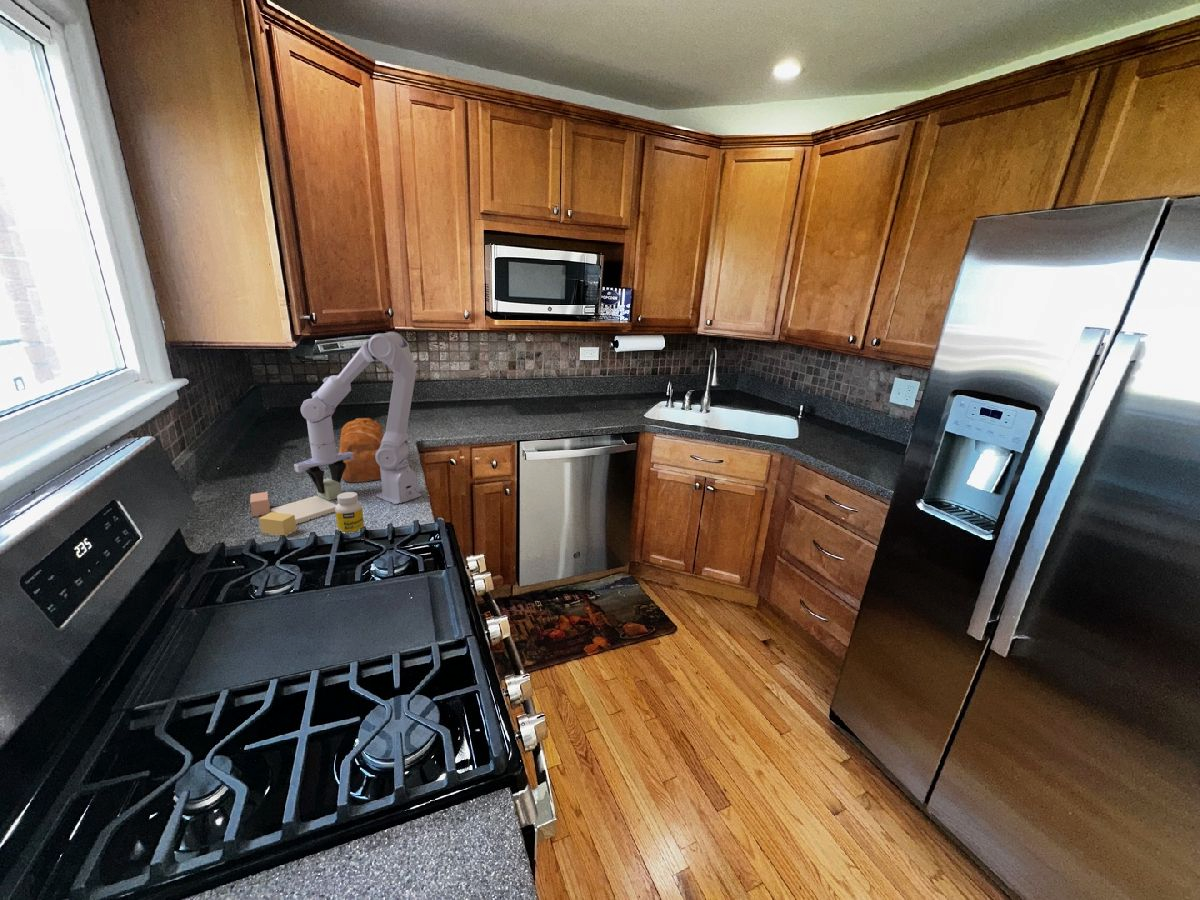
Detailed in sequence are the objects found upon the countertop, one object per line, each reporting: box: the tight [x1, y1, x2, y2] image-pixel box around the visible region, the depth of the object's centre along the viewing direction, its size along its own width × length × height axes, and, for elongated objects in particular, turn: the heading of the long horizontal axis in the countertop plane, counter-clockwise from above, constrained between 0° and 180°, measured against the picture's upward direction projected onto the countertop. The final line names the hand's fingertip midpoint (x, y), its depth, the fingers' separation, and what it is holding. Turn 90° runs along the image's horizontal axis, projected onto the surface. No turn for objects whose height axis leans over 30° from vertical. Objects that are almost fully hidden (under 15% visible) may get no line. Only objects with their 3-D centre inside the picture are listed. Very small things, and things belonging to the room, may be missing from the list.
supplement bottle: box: [334, 491, 365, 533], centre depth 107 cm, size 5×5×10 cm
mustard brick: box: [258, 511, 298, 536], centre depth 108 cm, size 6×4×4 cm, turn 80°
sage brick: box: [316, 477, 343, 502], centre depth 128 cm, size 6×4×4 cm, turn 57°
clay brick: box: [249, 491, 271, 517], centre depth 118 cm, size 6×4×4 cm, turn 34°
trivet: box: [270, 495, 337, 525], centre depth 119 cm, size 11×11×1 cm
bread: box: [338, 417, 384, 483], centre depth 149 cm, size 14×26×16 cm, turn 25°
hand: (329, 490), depth 128 cm, fingers closed on sage brick, 3 cm apart
